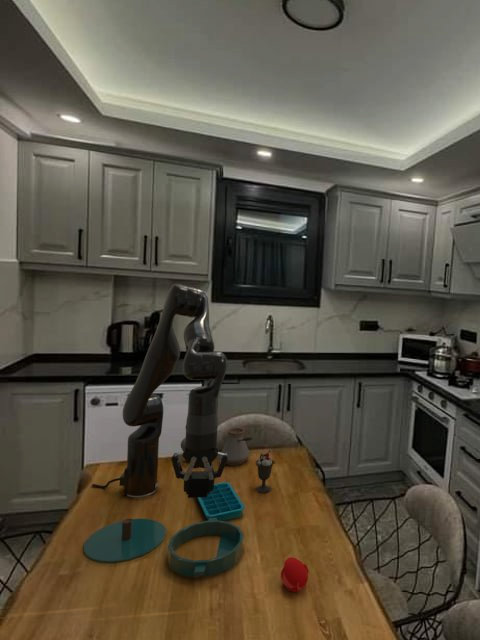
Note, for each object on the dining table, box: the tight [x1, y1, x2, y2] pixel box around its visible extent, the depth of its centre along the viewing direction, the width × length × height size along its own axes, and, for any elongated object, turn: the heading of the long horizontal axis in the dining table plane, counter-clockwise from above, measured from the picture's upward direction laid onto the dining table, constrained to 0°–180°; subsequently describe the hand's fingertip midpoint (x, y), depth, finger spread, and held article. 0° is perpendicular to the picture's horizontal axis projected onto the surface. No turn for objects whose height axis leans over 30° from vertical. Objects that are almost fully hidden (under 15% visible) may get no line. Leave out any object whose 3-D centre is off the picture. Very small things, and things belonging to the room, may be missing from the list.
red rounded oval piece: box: [280, 556, 309, 593], centre depth 108 cm, size 8×6×6 cm
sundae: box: [255, 449, 276, 494], centre depth 154 cm, size 7×7×15 cm
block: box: [187, 470, 209, 499], centre depth 111 cm, size 4×4×5 cm
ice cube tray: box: [196, 481, 246, 521], centre depth 140 cm, size 12×20×3 cm, turn 34°
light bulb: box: [180, 436, 187, 462], centre depth 171 cm, size 6×6×10 cm
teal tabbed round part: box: [167, 518, 244, 578], centre depth 116 cm, size 19×24×4 cm
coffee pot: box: [220, 427, 256, 466], centre depth 171 cm, size 21×12×15 cm, turn 39°
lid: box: [83, 518, 167, 564], centre depth 119 cm, size 20×20×6 cm
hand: (198, 492), depth 112 cm, fingers closed on block, 4 cm apart
